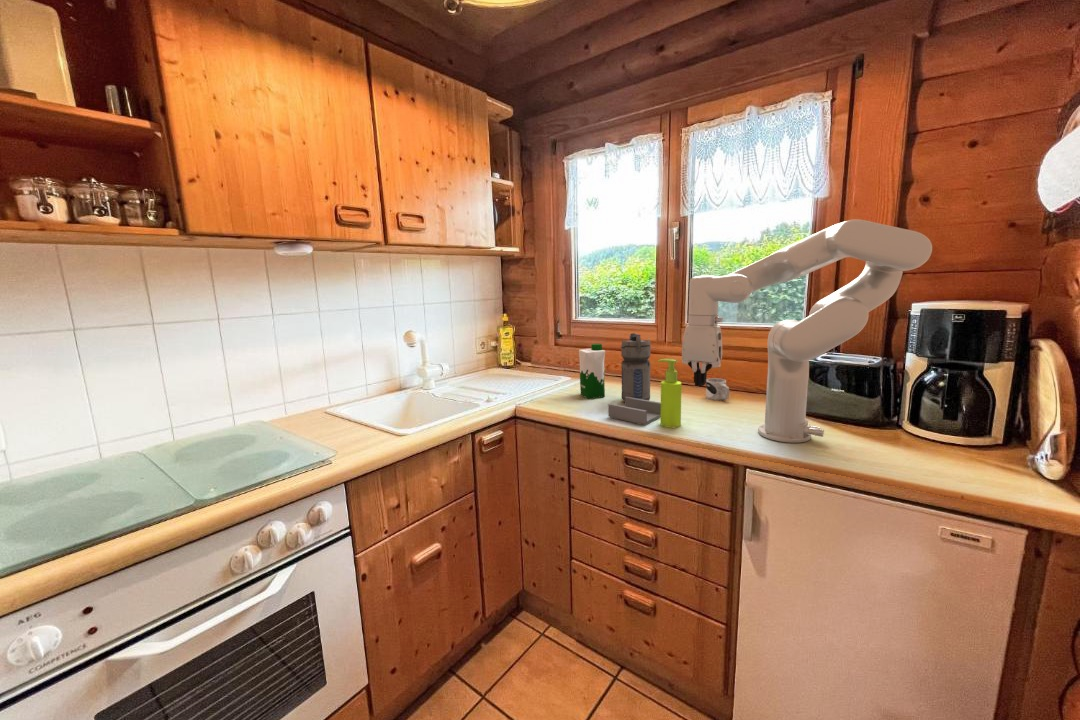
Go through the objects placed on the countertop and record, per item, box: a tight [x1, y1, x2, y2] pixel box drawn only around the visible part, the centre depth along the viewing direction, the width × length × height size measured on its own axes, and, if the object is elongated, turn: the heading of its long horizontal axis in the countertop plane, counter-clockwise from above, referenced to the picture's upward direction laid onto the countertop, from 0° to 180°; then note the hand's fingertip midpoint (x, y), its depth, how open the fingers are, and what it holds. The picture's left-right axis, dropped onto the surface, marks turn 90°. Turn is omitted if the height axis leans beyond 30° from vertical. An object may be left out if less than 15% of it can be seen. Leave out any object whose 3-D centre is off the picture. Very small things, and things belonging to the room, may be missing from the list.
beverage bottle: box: [620, 332, 651, 403], centre depth 153 cm, size 10×13×25 cm
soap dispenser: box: [657, 358, 683, 428], centre depth 128 cm, size 6×7×20 cm
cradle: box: [607, 397, 661, 426], centre depth 137 cm, size 13×11×4 cm
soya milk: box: [578, 343, 606, 400], centre depth 163 cm, size 9×9×20 cm
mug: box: [705, 377, 730, 401], centre depth 153 cm, size 10×7×7 cm
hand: (699, 385), depth 121 cm, fingers closed
